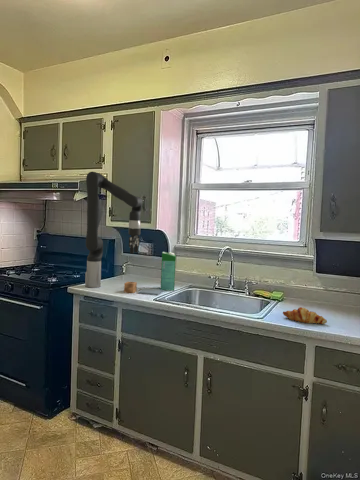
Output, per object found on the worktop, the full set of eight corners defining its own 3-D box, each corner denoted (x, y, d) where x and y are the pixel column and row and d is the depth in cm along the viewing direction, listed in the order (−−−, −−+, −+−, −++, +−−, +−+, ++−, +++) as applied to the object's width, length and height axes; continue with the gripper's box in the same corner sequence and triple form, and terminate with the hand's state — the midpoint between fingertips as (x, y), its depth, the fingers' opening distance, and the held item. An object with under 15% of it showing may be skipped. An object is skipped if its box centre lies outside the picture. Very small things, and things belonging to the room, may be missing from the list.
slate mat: (138, 293, 222) (138, 291, 222) (144, 289, 235) (144, 287, 235) (158, 295, 220) (158, 293, 220) (163, 291, 233) (163, 289, 233)
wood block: (124, 292, 224) (124, 283, 223) (127, 290, 230) (127, 281, 229) (133, 293, 223) (133, 283, 222) (136, 291, 228) (136, 282, 228)
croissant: (326, 330, 176) (328, 314, 179) (325, 325, 168) (327, 309, 171) (282, 321, 186) (285, 307, 189) (280, 317, 178) (282, 301, 180)
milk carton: (174, 290, 235) (175, 253, 233) (160, 290, 235) (162, 252, 233) (174, 287, 244) (175, 251, 242) (161, 287, 244) (162, 251, 242)
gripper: (132, 227, 235) (131, 251, 236) (125, 227, 221) (124, 253, 223) (143, 227, 234) (142, 252, 235) (136, 228, 220) (136, 254, 221)
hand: (133, 252), depth 229 cm, fingers open, 8 cm apart
